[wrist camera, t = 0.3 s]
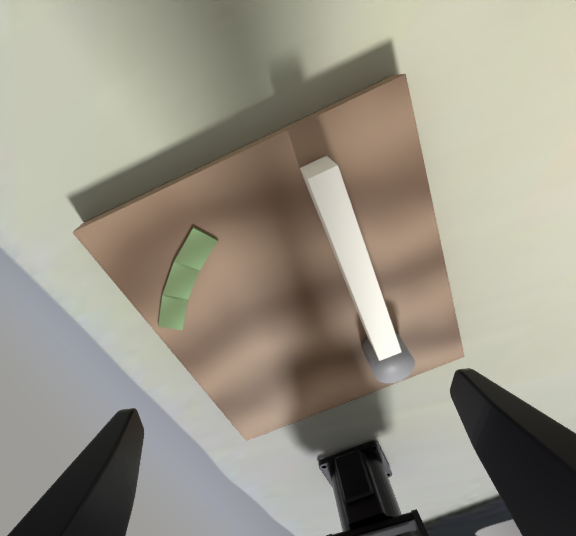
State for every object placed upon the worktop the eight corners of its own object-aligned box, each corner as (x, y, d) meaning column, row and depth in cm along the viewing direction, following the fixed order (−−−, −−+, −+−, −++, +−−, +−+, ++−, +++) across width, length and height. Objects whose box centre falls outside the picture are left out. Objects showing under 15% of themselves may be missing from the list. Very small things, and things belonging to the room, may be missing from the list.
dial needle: (404, 350, 26) (420, 376, 24) (368, 364, 27) (381, 391, 24) (337, 149, 18) (351, 159, 16) (287, 172, 19) (294, 185, 16)
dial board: (454, 344, 29) (465, 358, 28) (246, 425, 31) (246, 442, 30) (394, 74, 19) (407, 73, 17) (83, 222, 20) (70, 233, 19)
